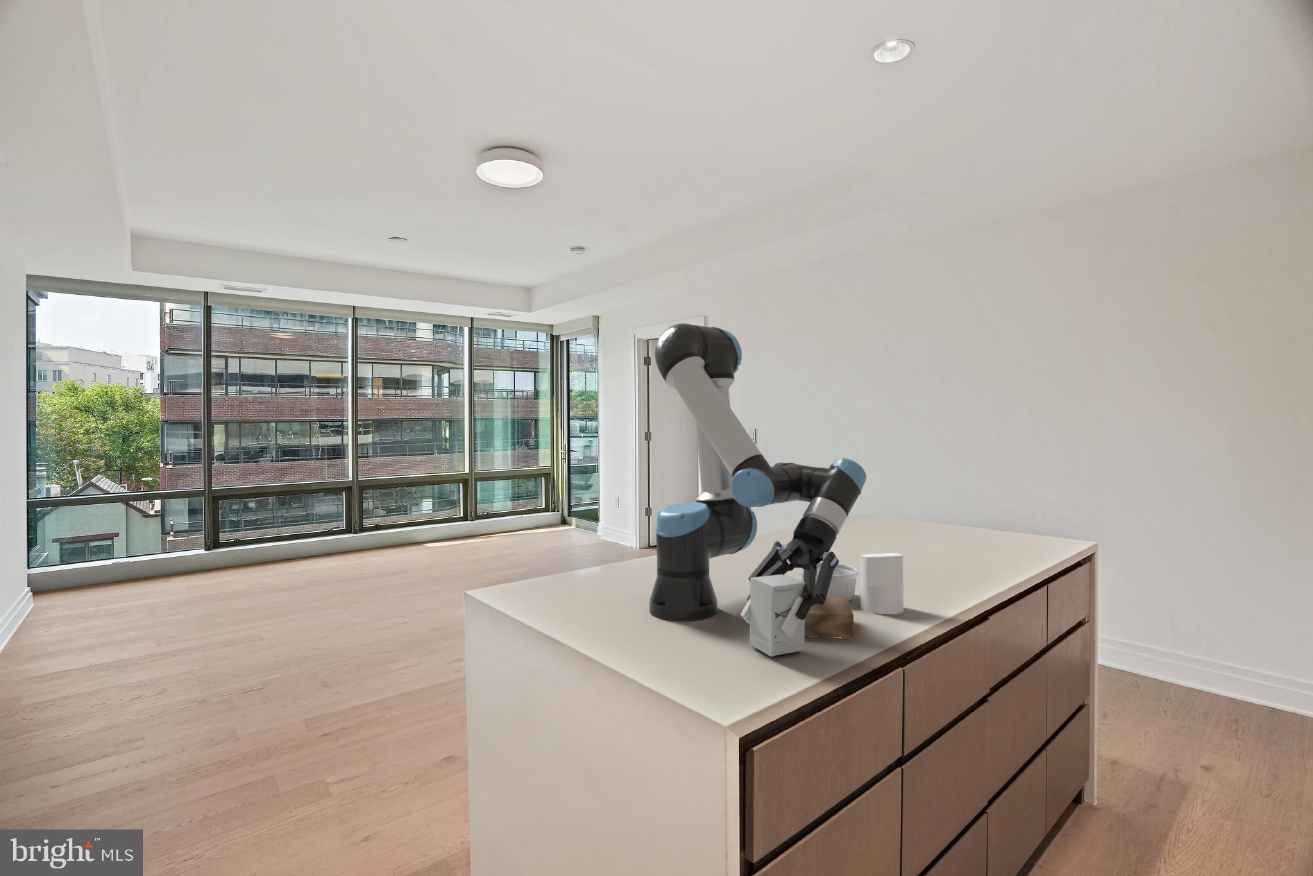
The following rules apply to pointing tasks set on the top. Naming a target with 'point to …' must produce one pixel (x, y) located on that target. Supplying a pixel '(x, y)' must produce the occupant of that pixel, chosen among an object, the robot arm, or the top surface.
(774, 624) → the supplement box
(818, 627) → the walnut block
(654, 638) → the top surface
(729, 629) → the top surface
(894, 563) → the cylinder with rectangular tab
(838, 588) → the ramekin
